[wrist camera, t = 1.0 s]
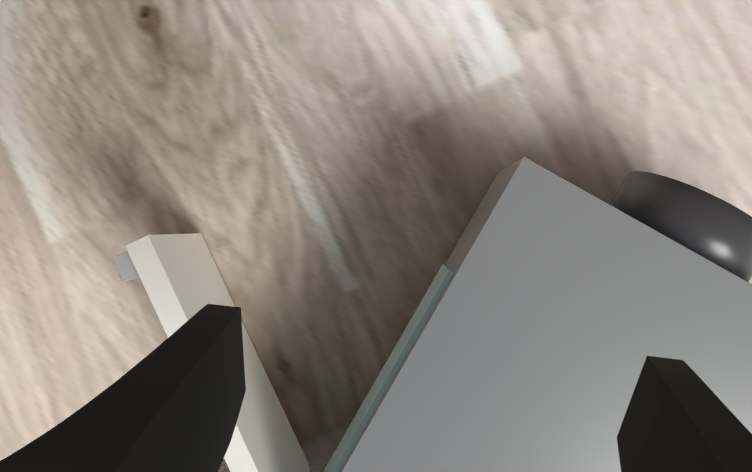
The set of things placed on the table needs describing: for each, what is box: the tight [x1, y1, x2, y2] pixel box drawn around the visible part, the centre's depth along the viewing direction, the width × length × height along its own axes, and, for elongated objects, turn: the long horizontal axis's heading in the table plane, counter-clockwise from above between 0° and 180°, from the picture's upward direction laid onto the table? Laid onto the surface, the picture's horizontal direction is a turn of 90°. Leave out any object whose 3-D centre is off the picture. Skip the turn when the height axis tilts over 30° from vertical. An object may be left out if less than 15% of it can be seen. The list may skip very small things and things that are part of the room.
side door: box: [112, 233, 311, 472], centre depth 22 cm, size 10×2×5 cm, turn 25°
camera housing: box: [323, 157, 752, 472], centre depth 22 cm, size 20×12×6 cm, turn 150°
